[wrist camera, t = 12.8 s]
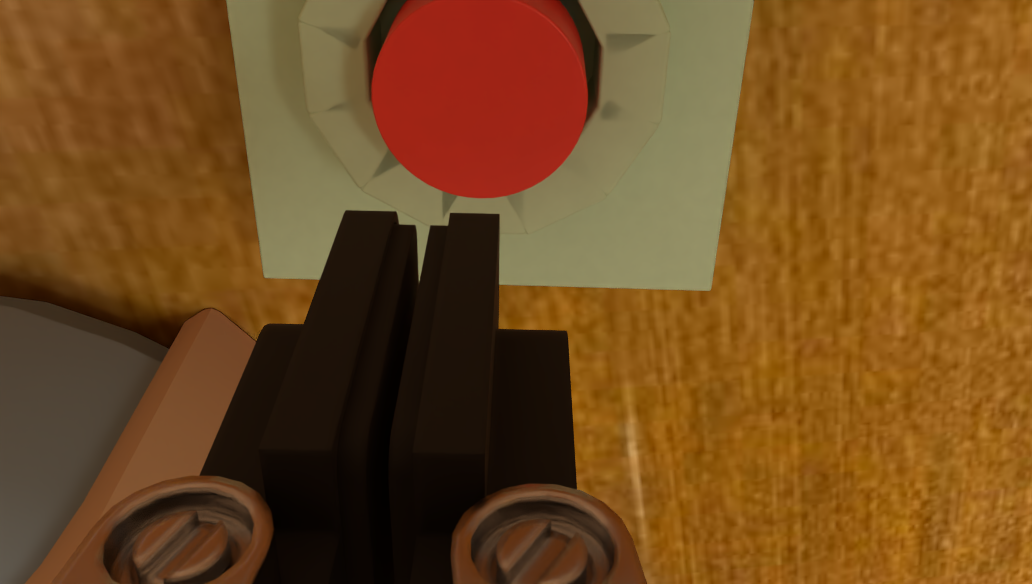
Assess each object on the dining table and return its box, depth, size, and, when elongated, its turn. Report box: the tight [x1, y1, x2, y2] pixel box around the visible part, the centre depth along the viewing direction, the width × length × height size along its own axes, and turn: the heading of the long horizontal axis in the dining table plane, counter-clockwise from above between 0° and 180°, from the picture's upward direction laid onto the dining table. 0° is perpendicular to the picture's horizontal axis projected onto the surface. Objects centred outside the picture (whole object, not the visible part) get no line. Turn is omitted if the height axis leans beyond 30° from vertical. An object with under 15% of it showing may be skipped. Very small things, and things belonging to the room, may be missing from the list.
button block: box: [226, 0, 754, 291], centre depth 19 cm, size 11×10×4 cm
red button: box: [371, 0, 588, 198], centre depth 17 cm, size 4×4×2 cm
